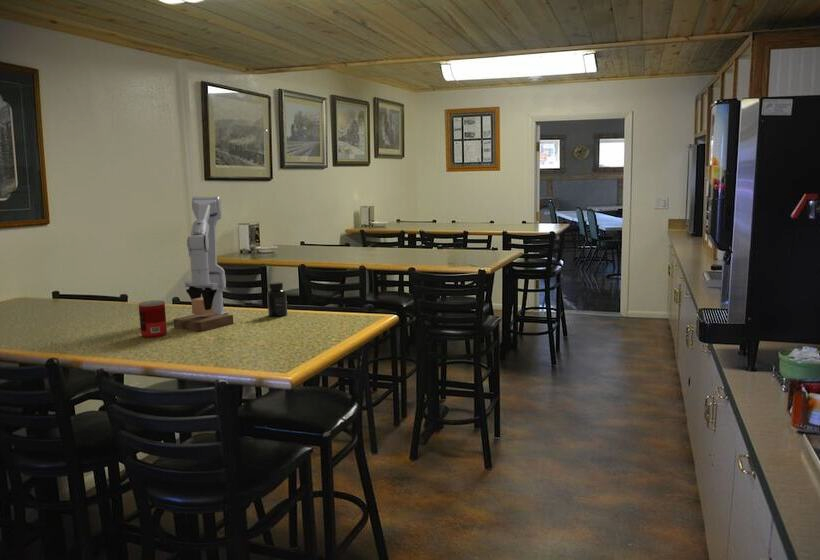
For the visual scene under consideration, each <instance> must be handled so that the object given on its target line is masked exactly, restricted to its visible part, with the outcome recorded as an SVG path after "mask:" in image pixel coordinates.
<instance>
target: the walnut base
mask: <svg viewBox="0 0 820 560" xmlns="http://www.w3.org/2000/svg"><path fill="white" fill-rule="evenodd" d="M172 321H173V322H172V323H173V328H174V329H180V330H186V331H187V330H189V331H194V332H205V331H209V330H214V329H217V328H222V327H225V326H230V325H233V324H234V315H233V314H228V313H227V314H218V313H208V314H204V315H199V314H190V315H187V316H186V315H185V316H180V317H178V318H172Z"/></svg>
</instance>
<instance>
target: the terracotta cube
mask: <svg viewBox="0 0 820 560" xmlns="http://www.w3.org/2000/svg"><path fill="white" fill-rule="evenodd" d="M190 300H191V315H194V314H199V315H204V314H208V313H213V312H214V309H213V302H212V307H211V309H209V310H205V306H204V300H203V297H201V298H196V299H191V298H190Z"/></svg>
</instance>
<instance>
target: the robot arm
mask: <svg viewBox="0 0 820 560" xmlns="http://www.w3.org/2000/svg"><path fill="white" fill-rule="evenodd" d="M191 210H192V212H193V216H194V217H195V219H196V220H195V221H194V222H193V223H192V226H191V231H190V235H189V236H187V238H186V245H187V246H186V247H187V251H188V257H189V258H190V259H189V260H190V272H191V273H190V274H191V280H187V281H184V288H186V290H185V292H186V293H187V294H188V296H189V298H190V300H191V299H196V298H201V297H203V300H204V306H205V310H209V309H211V307H212V302H213V309H214V312H213V313H218V314H227V315H228V314H229V311H224V301H223V300H224V299H223V290H225V289H226V288H227V287H226V286H227V279H226V274H225V273H226V271H225V270H224V268H223V267H222V266H220V265H219V264H218V257H217V256H218V255H217V254H218V253H217V222H218V221H219V220H221V219H222V200H221V197H220V196H219V195H215V196H210V195H209V196H193V197H192V198H191Z"/></svg>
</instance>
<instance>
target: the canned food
mask: <svg viewBox="0 0 820 560" xmlns="http://www.w3.org/2000/svg"><path fill="white" fill-rule="evenodd" d="M138 314H139V325H140V335H141V337H142V338H143V337H144V339H155V338H156V339H157V338H160V337H164V336H166V335H167V333H168V330H167V317H166V303H165V301H164V300H161V299H160V300H159V299H157V300H155V299H154V300H146V301H141V302H138Z"/></svg>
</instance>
